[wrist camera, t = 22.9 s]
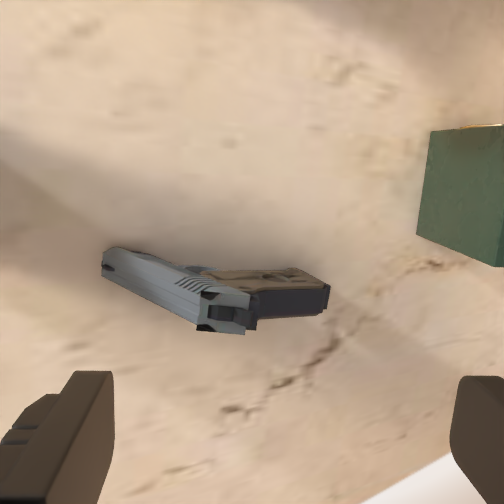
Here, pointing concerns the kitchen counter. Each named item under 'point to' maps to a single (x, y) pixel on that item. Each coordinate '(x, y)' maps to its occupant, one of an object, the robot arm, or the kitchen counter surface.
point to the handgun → (217, 291)
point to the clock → (465, 192)
